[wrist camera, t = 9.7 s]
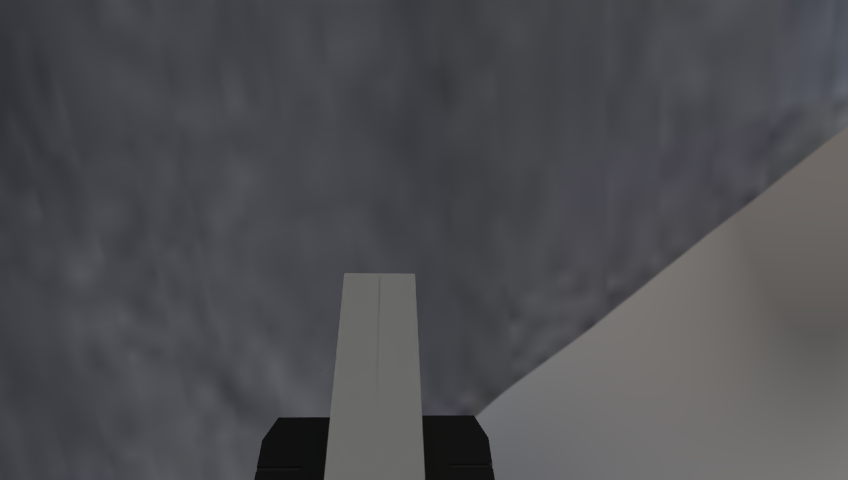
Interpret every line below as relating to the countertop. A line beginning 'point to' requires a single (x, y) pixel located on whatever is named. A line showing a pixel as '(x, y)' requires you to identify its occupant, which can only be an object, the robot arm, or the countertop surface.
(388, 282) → the robot arm
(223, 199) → the countertop surface
